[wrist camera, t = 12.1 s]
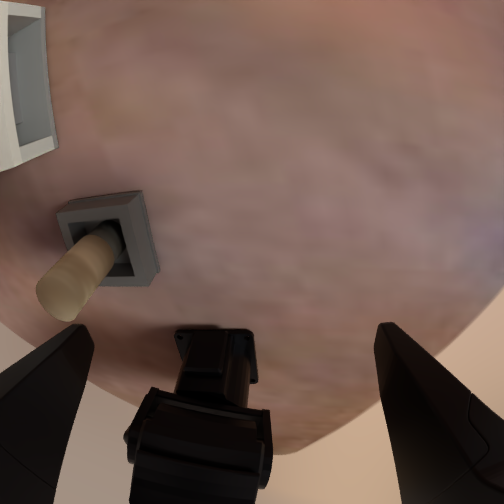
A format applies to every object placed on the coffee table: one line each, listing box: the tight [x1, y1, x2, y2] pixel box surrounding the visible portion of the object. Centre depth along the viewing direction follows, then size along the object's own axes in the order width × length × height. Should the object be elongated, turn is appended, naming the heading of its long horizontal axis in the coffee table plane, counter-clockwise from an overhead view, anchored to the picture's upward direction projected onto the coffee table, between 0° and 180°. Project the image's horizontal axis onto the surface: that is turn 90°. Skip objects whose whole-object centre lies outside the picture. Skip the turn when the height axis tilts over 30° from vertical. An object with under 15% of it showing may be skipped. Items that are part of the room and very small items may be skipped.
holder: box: [56, 191, 160, 286], centre depth 20 cm, size 6×6×2 cm
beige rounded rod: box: [36, 220, 126, 322], centre depth 17 cm, size 3×3×8 cm
